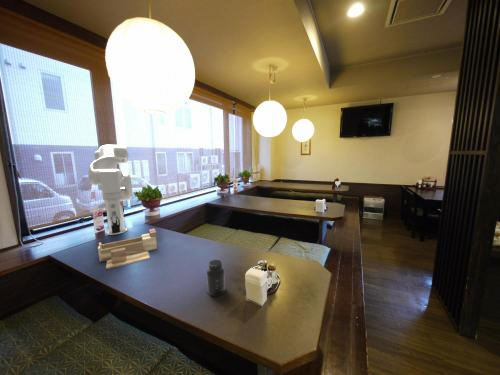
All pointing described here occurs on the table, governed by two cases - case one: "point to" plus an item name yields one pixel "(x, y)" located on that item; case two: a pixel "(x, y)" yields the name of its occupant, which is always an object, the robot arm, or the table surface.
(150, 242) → the light wooden long piece
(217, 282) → the supplement bottle
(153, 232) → the brown wooden block
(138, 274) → the table surface
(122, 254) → the lid
